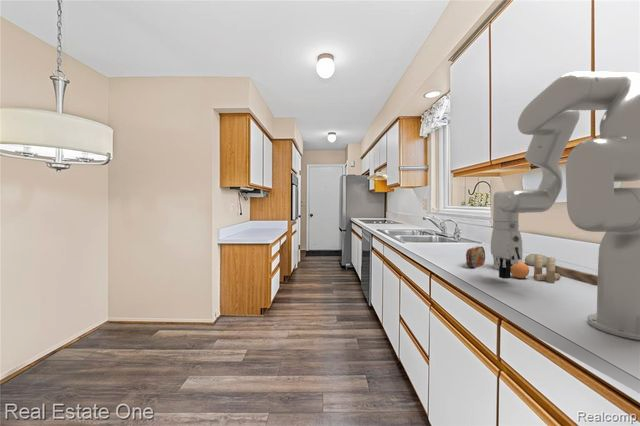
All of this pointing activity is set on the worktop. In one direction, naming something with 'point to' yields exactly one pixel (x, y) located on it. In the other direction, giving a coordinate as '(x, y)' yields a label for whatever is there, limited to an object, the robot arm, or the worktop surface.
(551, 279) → the back right pin
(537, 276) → the front pin
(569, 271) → the brown wooden bar
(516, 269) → the ball
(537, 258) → the back left pin
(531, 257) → the sea urchin shell
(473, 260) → the tin
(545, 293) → the worktop surface
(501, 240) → the robot arm
